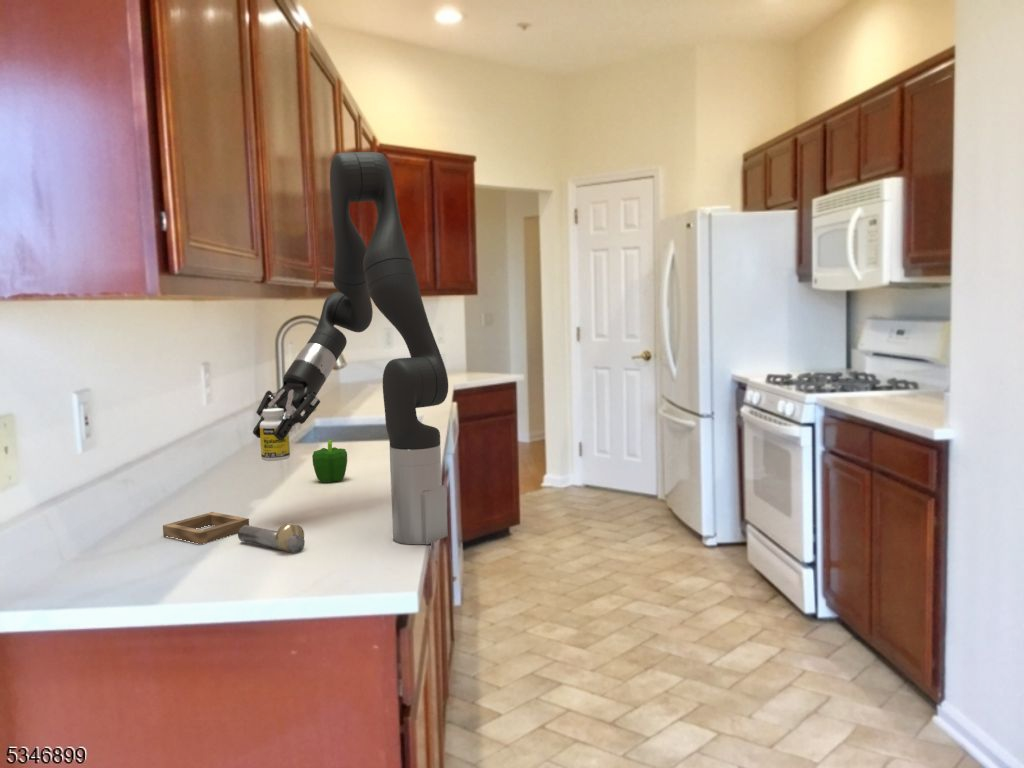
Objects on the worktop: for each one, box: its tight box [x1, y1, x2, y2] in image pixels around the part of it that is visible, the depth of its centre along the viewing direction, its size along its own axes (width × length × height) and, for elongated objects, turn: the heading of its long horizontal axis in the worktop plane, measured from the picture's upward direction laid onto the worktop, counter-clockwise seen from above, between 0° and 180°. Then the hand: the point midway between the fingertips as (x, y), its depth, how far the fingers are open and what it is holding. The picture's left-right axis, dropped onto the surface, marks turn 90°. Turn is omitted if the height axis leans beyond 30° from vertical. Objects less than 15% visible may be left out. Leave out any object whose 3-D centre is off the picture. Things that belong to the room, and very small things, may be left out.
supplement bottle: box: [259, 407, 291, 462], centre depth 153 cm, size 5×5×10 cm
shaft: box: [237, 522, 306, 554], centre depth 140 cm, size 14×5×5 cm, turn 58°
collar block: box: [162, 511, 250, 545], centre depth 150 cm, size 11×11×2 cm
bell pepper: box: [311, 439, 348, 483], centre depth 194 cm, size 8×8×10 cm
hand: (267, 436), depth 152 cm, fingers closed on supplement bottle, 5 cm apart
